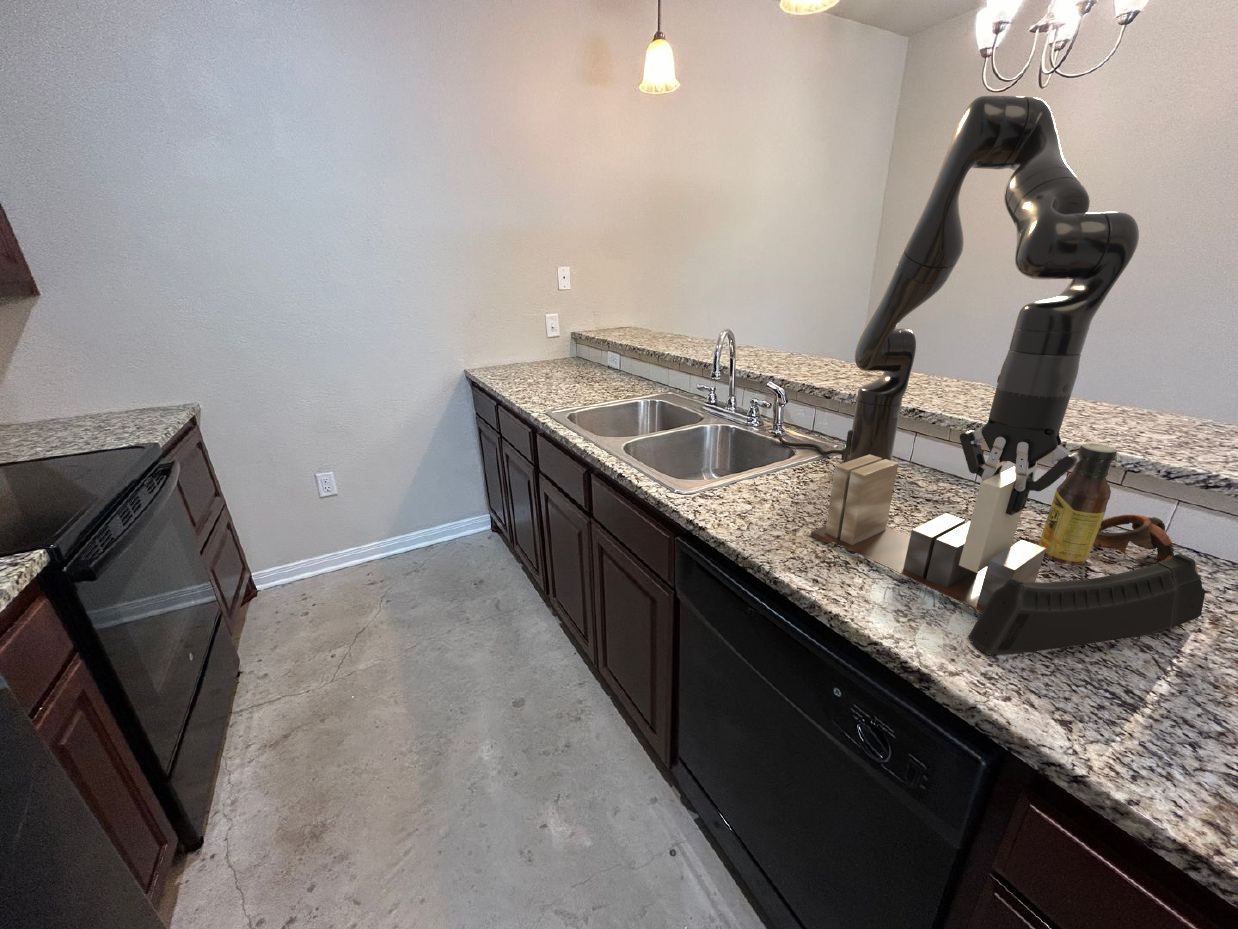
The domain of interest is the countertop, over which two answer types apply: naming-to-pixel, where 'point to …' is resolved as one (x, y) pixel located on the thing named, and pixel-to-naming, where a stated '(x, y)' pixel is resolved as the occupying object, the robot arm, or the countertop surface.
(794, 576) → the countertop surface
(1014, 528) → the cream book
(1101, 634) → the magazine
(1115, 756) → the countertop surface
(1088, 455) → the sauce bottle
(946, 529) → the book board
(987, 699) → the countertop surface
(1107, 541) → the rusty ring bracket
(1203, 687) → the countertop surface
